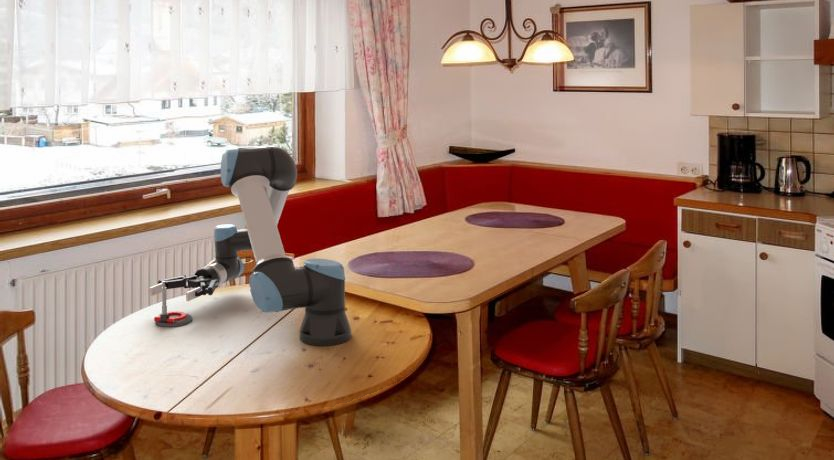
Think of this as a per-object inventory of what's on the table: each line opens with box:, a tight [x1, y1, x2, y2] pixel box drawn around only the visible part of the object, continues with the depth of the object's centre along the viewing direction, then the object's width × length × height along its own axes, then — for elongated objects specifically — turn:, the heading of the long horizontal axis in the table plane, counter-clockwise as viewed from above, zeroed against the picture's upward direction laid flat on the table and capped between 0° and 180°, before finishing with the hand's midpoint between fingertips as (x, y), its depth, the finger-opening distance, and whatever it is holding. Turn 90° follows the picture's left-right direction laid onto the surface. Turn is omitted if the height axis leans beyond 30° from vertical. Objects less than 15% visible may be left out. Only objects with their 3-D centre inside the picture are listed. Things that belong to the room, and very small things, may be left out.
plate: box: [154, 313, 193, 328], centre depth 231 cm, size 11×11×1 cm
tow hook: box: [153, 281, 188, 323], centre depth 230 cm, size 8×13×9 cm
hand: (168, 294), depth 228 cm, fingers open, 13 cm apart
